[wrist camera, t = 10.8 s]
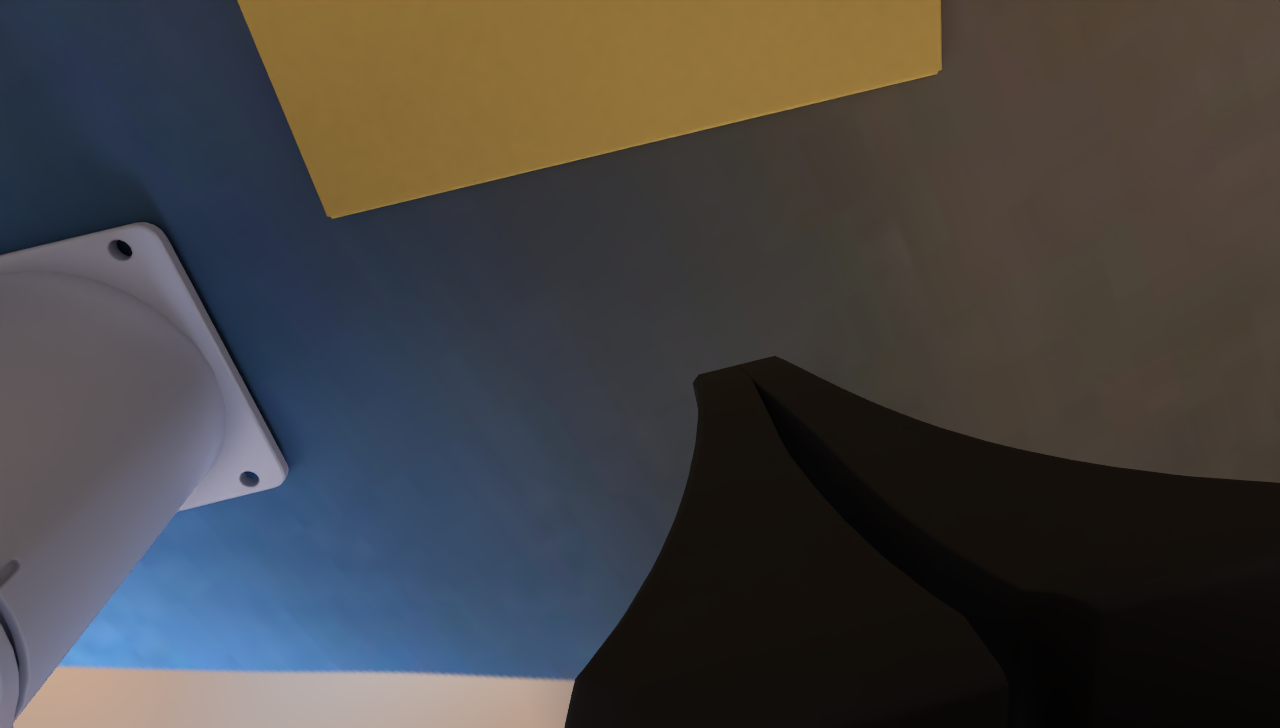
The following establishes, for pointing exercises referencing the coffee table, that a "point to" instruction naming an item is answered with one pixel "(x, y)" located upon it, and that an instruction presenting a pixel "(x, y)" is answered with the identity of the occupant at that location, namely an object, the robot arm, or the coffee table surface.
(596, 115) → the envelope
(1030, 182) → the coffee table surface
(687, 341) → the coffee table surface
